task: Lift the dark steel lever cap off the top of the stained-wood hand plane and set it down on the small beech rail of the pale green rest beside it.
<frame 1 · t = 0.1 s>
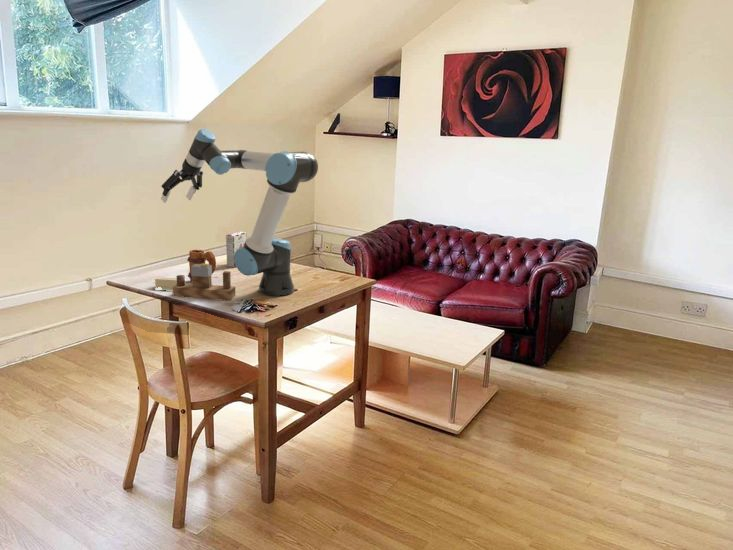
hand: (175, 199, 252), 36 cm above the table, tool tilted 35°, fingers open, 13 cm apart
lever cap: (201, 275, 234), point 9 cm above the table, touching plane body
plane body: (204, 296, 236), on the table
rest: (168, 287, 245), on the table
mug: (202, 283, 255), on the table
candy bar box: (236, 265, 288), on the table
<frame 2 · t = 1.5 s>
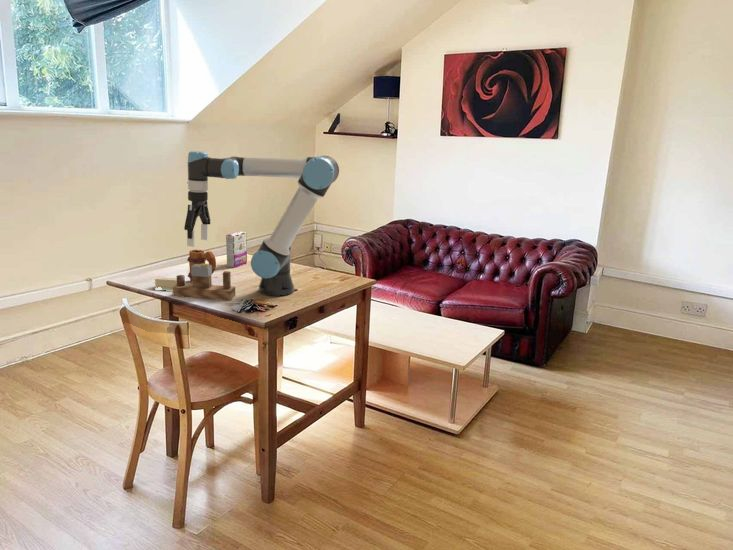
hand: (197, 243, 232), 22 cm above the table, tool pointing down, fingers open, 13 cm apart
nothing on the table moved.
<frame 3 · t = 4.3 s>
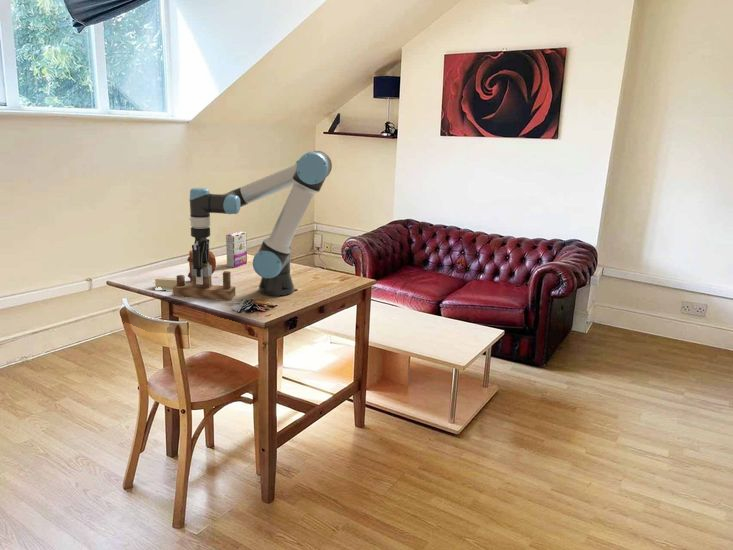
hand: (201, 282, 235), 6 cm above the table, tool pointing down, fingers closed on lever cap, 4 cm apart
lever cap: (201, 275, 234), point 9 cm above the table, touching gripper, plane body
everything else where it was.
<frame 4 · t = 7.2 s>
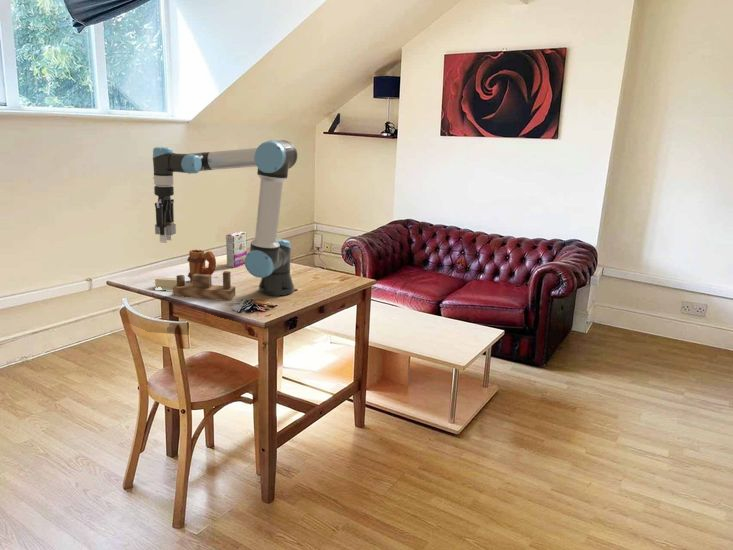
hand: (166, 241, 240), 21 cm above the table, tool pointing down, fingers closed on lever cap, 4 cm apart
lever cap: (165, 233, 239), point 24 cm above the table, touching gripper
everything else where it was.
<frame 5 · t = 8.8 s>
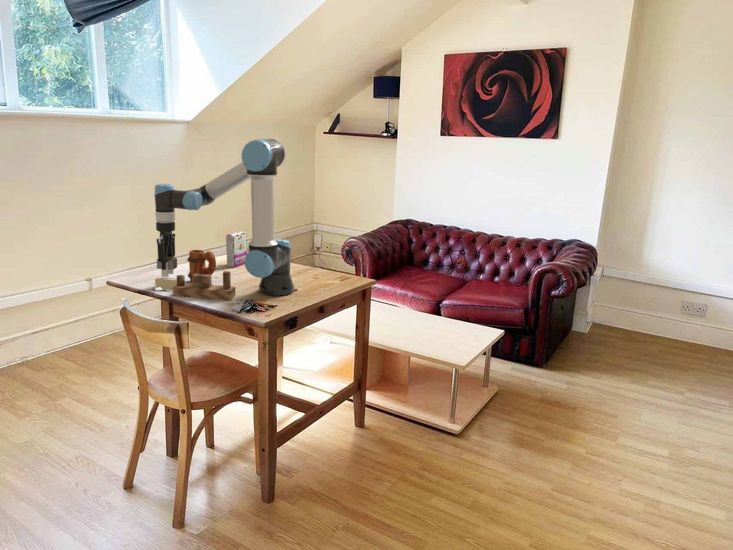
hand: (167, 275, 244), 6 cm above the table, tool pointing down, fingers closed on lever cap, 4 cm apart
lever cap: (167, 267, 243), point 9 cm above the table, touching gripper
everything else where it was.
when the fingers open (2 cm above the table, at t = 10.1 s): lever cap drops 1 cm, resting on rest.
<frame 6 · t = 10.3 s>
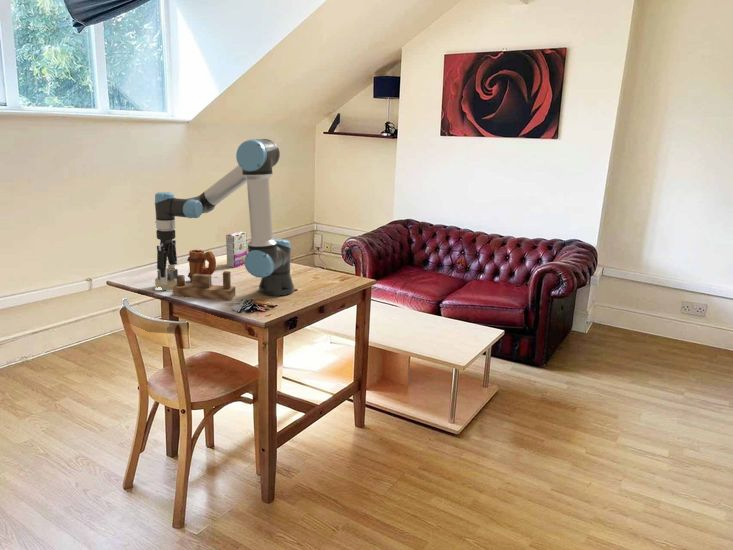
hand: (168, 281, 244), 3 cm above the table, tool pointing down, fingers open, 7 cm apart
lever cap: (167, 278, 244), point 4 cm above the table, touching rest
everything else where it was.
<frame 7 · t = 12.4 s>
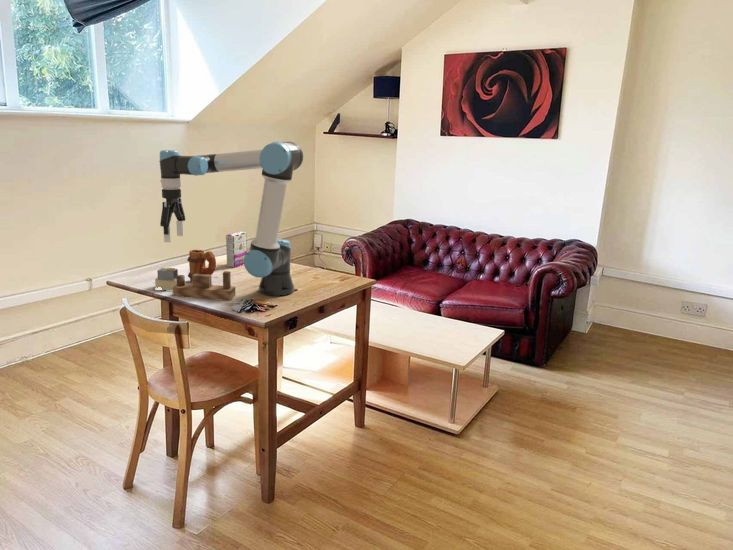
hand: (174, 239, 240), 22 cm above the table, tool pointing down, fingers open, 13 cm apart
nothing on the table moved.
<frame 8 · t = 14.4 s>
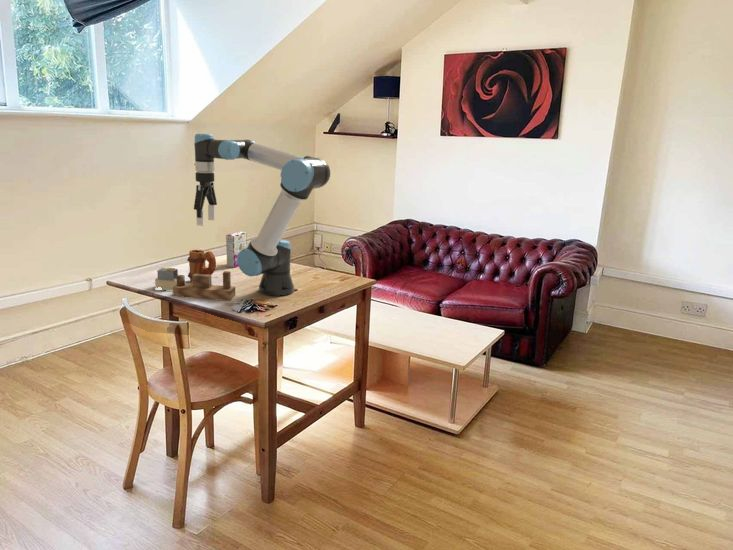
hand: (206, 222, 240), 29 cm above the table, tool pointing down, fingers open, 13 cm apart
nothing on the table moved.
at the end: lever cap inside the target area on the rest (0.0 cm from its centre), point 4.0 cm above the rest's base; lever cap touching rest; the gripper is holding nothing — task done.
